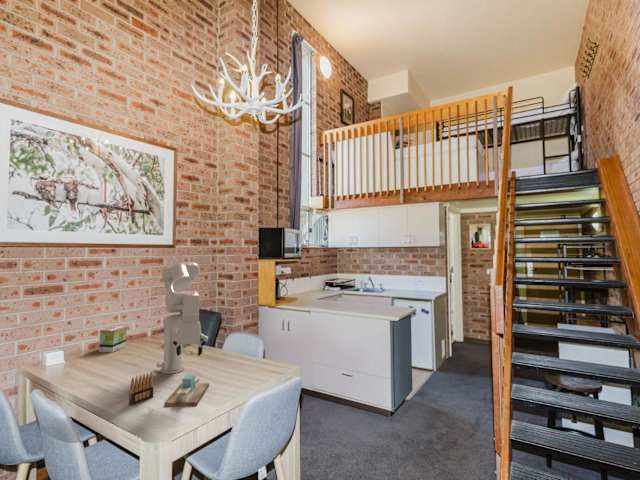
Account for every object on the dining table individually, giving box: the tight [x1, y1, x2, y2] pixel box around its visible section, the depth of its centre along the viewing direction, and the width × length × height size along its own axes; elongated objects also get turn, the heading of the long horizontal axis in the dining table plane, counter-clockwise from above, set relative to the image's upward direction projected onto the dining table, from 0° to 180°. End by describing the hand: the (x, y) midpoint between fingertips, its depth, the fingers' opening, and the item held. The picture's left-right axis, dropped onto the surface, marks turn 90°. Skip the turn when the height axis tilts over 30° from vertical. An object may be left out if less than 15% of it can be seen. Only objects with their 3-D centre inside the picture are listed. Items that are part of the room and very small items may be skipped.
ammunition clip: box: [128, 371, 154, 406], centre depth 156 cm, size 11×2×12 cm, turn 149°
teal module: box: [181, 373, 196, 393], centre depth 163 cm, size 4×6×7 cm, turn 5°
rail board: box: [163, 376, 210, 407], centre depth 162 cm, size 14×22×5 cm, turn 4°
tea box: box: [98, 325, 128, 353], centre depth 235 cm, size 15×10×15 cm, turn 179°
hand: (189, 354), depth 163 cm, fingers open, 9 cm apart
